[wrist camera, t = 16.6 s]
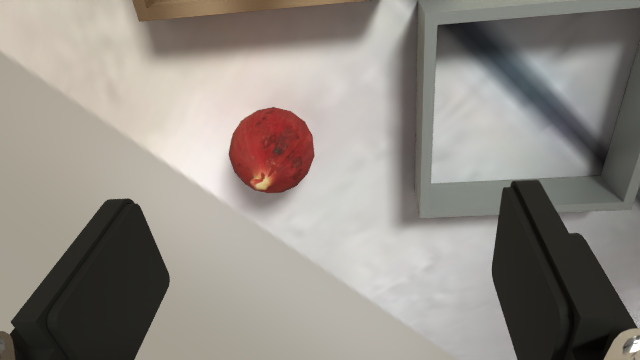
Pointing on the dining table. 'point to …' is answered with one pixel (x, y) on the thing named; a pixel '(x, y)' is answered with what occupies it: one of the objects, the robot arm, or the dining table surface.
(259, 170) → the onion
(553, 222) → the robot arm
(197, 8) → the walnut bin
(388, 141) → the dining table surface
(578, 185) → the grey bin
